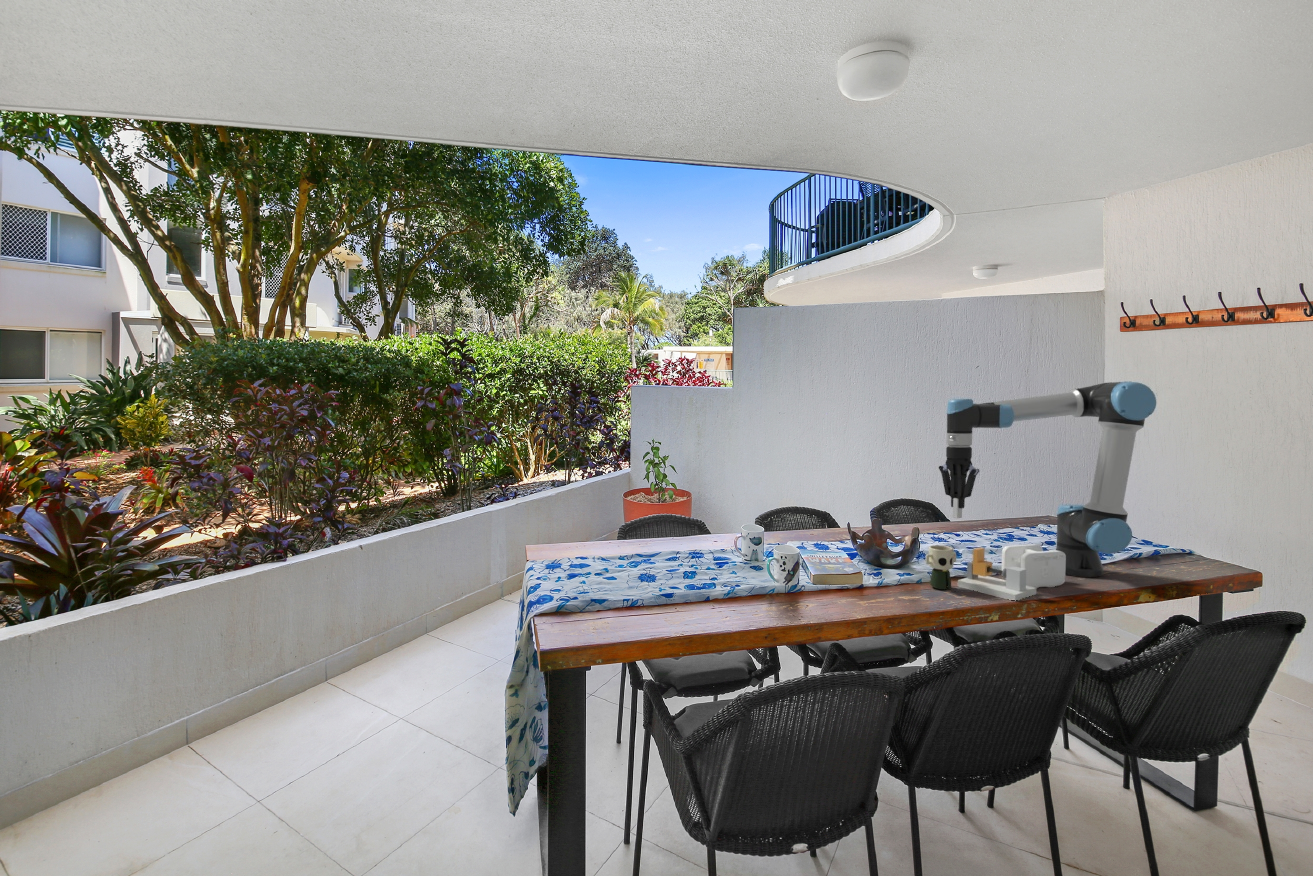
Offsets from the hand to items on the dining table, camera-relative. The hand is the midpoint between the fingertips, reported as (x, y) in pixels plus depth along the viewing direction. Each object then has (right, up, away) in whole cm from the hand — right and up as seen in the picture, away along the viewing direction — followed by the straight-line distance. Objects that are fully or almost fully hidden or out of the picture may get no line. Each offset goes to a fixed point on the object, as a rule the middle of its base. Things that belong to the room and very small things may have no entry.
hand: (957, 517), depth 204 cm
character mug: (-8, -22, -6) cm, 24 cm away
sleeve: (+5, -17, -6) cm, 19 cm away
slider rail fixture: (+7, -21, -10) cm, 25 cm away
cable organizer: (+23, -21, -4) cm, 31 cm away
